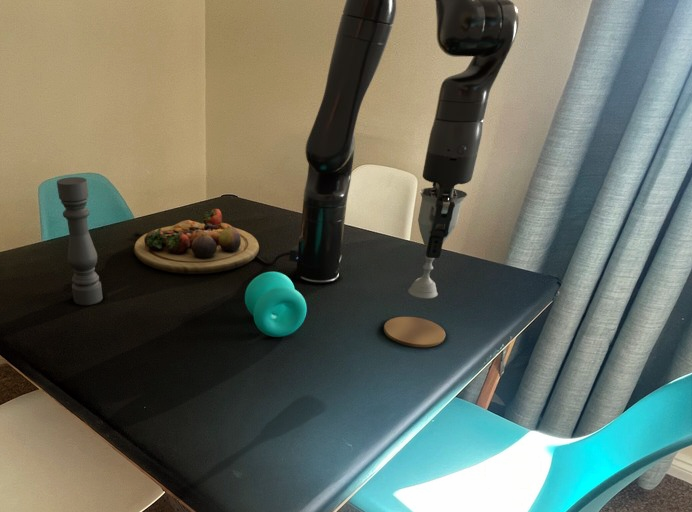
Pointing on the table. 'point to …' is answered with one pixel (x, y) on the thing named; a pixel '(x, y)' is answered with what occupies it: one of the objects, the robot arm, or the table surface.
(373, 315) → the table surface
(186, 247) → the wooden plate
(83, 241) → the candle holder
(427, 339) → the coaster
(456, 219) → the chalice
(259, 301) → the turquoise spool
